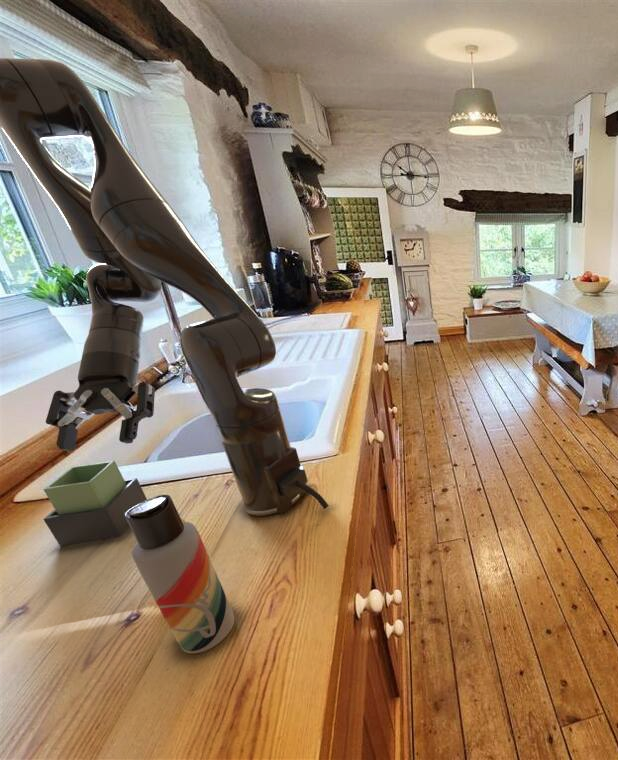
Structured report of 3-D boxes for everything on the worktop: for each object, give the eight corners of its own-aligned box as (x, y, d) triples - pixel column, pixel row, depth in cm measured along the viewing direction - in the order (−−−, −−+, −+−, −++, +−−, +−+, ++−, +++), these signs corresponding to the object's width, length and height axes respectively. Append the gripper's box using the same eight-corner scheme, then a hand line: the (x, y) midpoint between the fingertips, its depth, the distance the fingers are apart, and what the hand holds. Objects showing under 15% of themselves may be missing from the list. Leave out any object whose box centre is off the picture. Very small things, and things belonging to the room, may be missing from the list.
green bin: (98, 514, 71) (72, 466, 67) (138, 508, 72) (114, 460, 68) (73, 540, 65) (42, 489, 61) (117, 532, 66) (89, 482, 62)
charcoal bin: (96, 513, 72) (81, 486, 69) (150, 505, 73) (136, 477, 71) (61, 548, 64) (42, 519, 62) (122, 538, 66) (106, 509, 63)
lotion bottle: (193, 664, 47) (123, 530, 39) (172, 639, 50) (102, 510, 42) (244, 624, 51) (190, 496, 43) (221, 603, 54) (167, 480, 46)
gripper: (46, 354, 69) (23, 447, 63) (142, 345, 72) (129, 434, 66) (82, 371, 76) (65, 457, 70) (169, 363, 79) (159, 445, 73)
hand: (96, 446), depth 68 cm, fingers open, 8 cm apart
